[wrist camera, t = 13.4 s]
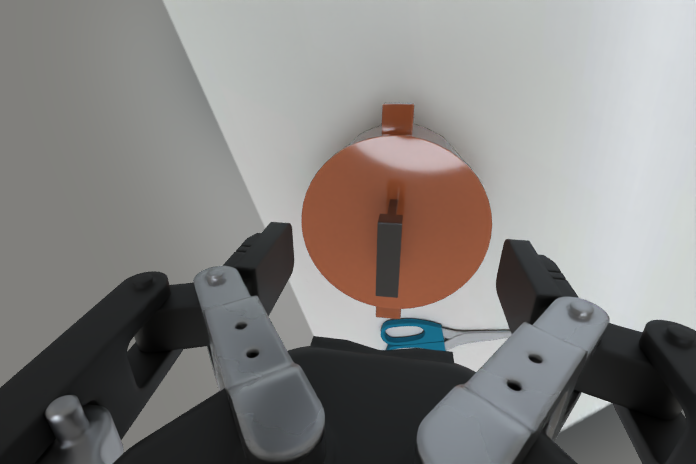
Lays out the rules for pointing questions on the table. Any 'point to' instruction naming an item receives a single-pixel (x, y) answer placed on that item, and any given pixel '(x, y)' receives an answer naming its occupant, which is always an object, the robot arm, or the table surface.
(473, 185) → the lid
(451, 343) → the scissors
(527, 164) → the table surface
